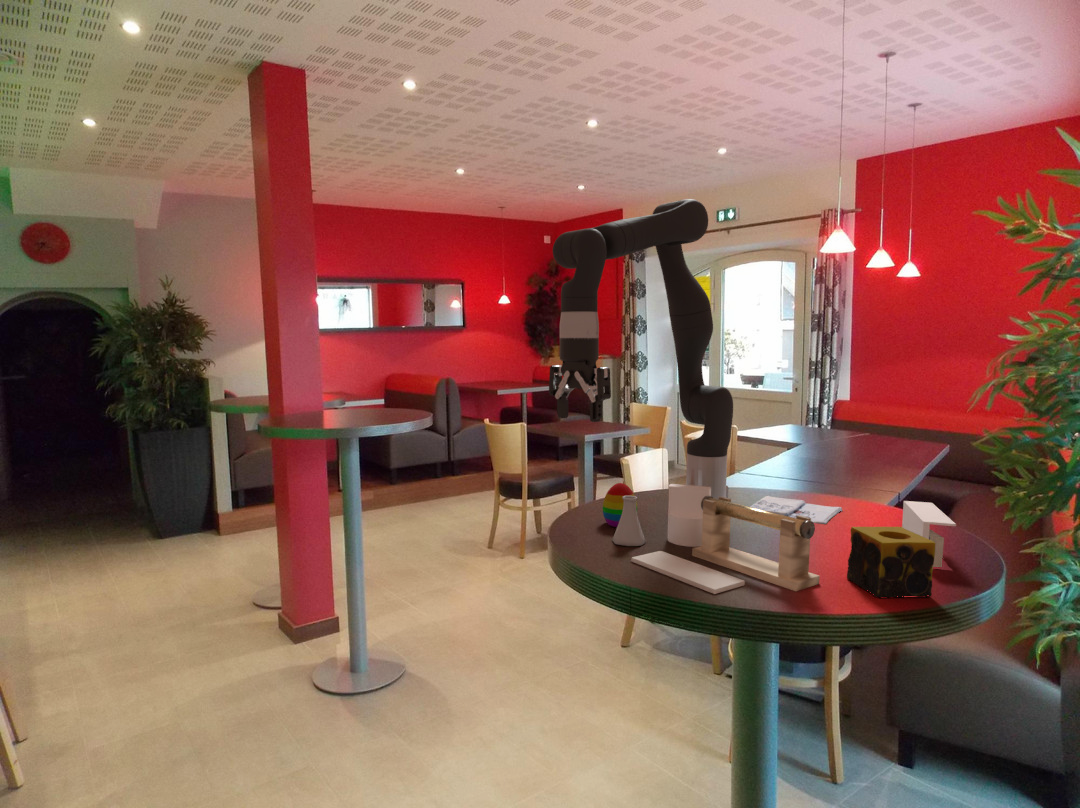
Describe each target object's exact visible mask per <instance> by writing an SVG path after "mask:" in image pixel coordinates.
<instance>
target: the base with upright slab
mask: <svg viewBox="0 0 1080 808" xmlns="http://www.w3.org/2000/svg"><path fill="white" fill-rule="evenodd" d="M705 496H711V487H706V486H693V485H686V484H681V483H679V484H676V483H670V484H669V485H668V511H667V515H668V517H667V541H668V542H669V543H671V544H672V545H673V544H674V545H677V546H682V547H683V546H684V547H692V548H696V547H700V546H702V522H703V510H702V508H701V501H702V499H703V498H704V497H705Z"/></svg>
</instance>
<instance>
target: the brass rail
mask: <svg viewBox="0 0 1080 808" xmlns="http://www.w3.org/2000/svg"><path fill="white" fill-rule="evenodd" d="M705 499H707V500H711V501H715V502H716V511H715V513H717V514H721V515H725V516H729V517H731V519H737V520H740V521H744V522H748V523H750V524H751V523H752V524H754V525H758V526H763V527H766V528H771V529H774V530H777V531H780V526H781V519H787V520H791V521H795V522H796V524H795V535H799V536H802V537H803V538H806V539H810V540H811V538H812V537H813V536H814V535H815V530H816V526H815V523H813V522H812V521H809V520H805V521H804V520H800V519H796V518H792V517H788V516H784V515H780V514H776V513H772V512H768V511H764V510H759V509H755V508H751V507H750V506H746V505H742V504H740V503H735V502H732V501H731V502H727V501H723V500H719V499H715V498H713V497H711V496H705V497H704V498H703V499H702V501H701V508H702V510H703V500H705Z"/></svg>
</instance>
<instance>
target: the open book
mask: <svg viewBox="0 0 1080 808" xmlns="http://www.w3.org/2000/svg"><path fill="white" fill-rule="evenodd" d="M749 507H751V508H755V509H759V510H764V511H768V512H772V513H776V514H780V515H784V516H788V517H792V518H796V516H799V515H800V516H804V517H808V518H811V521H812V522H813V523H814V524H820V525H821V524H822V525H826V524H828V523H829V521H830V520H832V518H834V517H835V516H836V515H838V514H839V512H840V511H841V512H843V508H842V507H841V506H829V505H828V506H826V505H821V504H814V503H806V501H805V500H804V499H803V500H802V499H794V498H793V499H792V498H785V497H784V498H781V497H777V496H770V495H766V496H764V497H762V498H761V499H760V500H758V501H756V502H754V503H753V504H752V505H750V506H749ZM797 511H800V512H799V513H798V512H797ZM795 512H797V513H795ZM841 512H840V513H841Z"/></svg>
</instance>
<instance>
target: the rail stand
mask: <svg viewBox="0 0 1080 808" xmlns="http://www.w3.org/2000/svg"><path fill="white" fill-rule="evenodd" d="M719 500H723V501H727V502H731V503H732V499H731V498H730V497H728V498H726V497H719ZM715 511H716V502H715V501H711V500H707V499H705V500H703V522H702V546H697V547H692V550H691V551H692V553H691V556H692V557H695V558H699V559H701V560H703V561H707V562H709V563H712V564H715V565H718V566H721V567H724V568H726V569H730V570H733V571H736V572H740V573H741V574H744V575H747V576H750V577H752V578H756V579H758V580H761V581H764V582H768V583H770V584H774V585H776V586H779V587H781V588H785V589H787V590H791V591H793V592H799V591H801V590H804V589H807V588H811V587H813V586H817V585H820V577H821V576H820V575H819V574H815V573H812V572H809V570H810V550H811V549H810V548H811V547H810V546H811V538H810V539H806V538H803V537H802V536H799V535H795V524H796V522H795V521H791V520H787V519H781V526H780V530H779V544H778V545H779V549H778V551H779V552H778V561H774V560H771V559H767V558H765V557H762V556H759V555H755V554H752V553H748V552H745V551H742V550H739V549H736V548H733V547H731V546H730V543H731V542H730V541H731V539H730V537H731V519H732V517H729V516H725V515H721V514H717V513H715ZM796 519H800V520H804V521H805V520H809V521H811V518H808V517H804V516H800V515H799V516H796Z"/></svg>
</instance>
